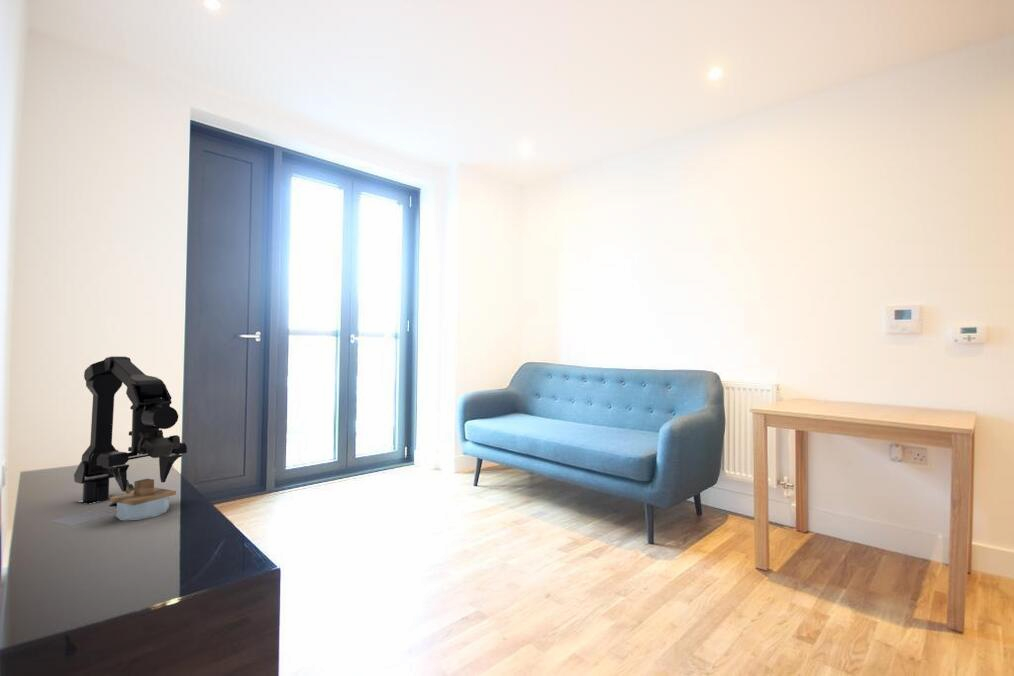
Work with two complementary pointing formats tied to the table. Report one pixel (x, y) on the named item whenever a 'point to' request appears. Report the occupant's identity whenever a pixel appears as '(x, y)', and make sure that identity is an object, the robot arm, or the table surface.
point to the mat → (83, 517)
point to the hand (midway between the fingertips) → (144, 486)
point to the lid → (143, 493)
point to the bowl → (142, 509)
